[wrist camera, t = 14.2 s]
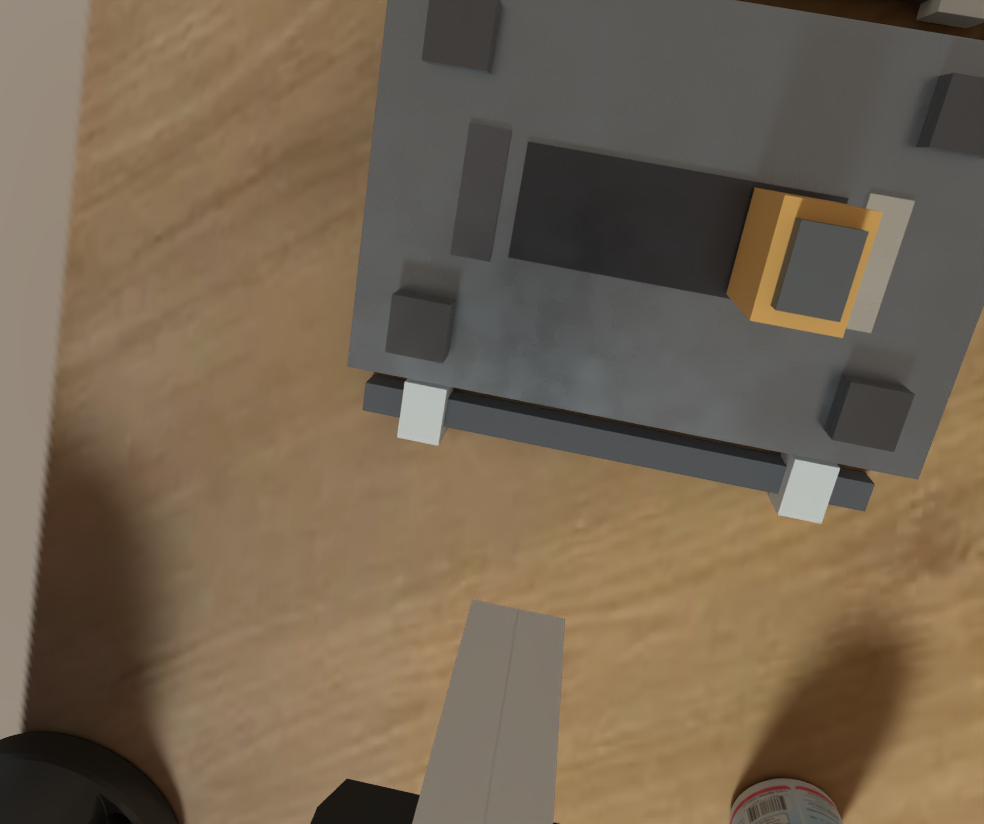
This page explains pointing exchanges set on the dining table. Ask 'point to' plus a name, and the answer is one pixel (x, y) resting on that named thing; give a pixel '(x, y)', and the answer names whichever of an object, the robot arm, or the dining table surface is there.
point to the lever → (801, 261)
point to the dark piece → (786, 477)
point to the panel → (670, 214)
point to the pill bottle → (784, 804)
